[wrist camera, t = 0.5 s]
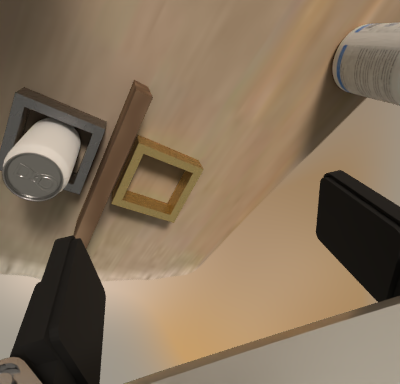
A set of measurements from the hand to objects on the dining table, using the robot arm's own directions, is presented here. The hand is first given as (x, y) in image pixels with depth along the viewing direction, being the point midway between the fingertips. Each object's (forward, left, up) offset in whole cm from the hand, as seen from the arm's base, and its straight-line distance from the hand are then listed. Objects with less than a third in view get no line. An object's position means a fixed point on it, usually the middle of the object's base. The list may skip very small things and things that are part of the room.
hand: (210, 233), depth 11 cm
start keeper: (-8, -12, -33) cm, 36 cm away
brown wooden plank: (-1, -12, -33) cm, 35 cm away
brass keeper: (+7, -12, -33) cm, 36 cm away
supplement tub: (+27, +18, -33) cm, 47 cm away
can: (-8, -12, -33) cm, 36 cm away
